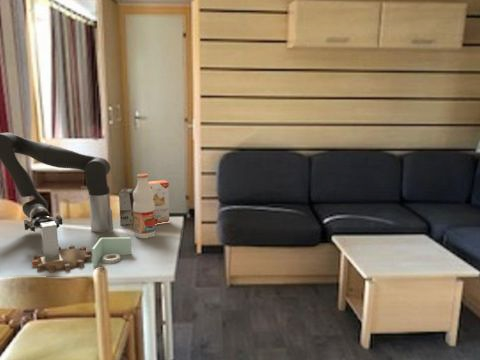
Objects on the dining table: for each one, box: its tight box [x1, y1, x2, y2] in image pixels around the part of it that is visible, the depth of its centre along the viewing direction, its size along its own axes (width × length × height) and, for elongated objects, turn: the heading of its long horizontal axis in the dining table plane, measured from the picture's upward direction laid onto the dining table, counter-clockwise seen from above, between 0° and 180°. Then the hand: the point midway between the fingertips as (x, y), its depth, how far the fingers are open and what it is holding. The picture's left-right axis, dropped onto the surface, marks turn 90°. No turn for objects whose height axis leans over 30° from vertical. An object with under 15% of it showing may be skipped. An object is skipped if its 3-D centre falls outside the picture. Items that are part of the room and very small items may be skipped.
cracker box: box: [148, 179, 170, 224], centre depth 214 cm, size 14×6×21 cm, turn 119°
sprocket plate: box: [31, 244, 93, 273], centre depth 173 cm, size 22×22×2 cm
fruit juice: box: [133, 173, 157, 239], centre depth 198 cm, size 9×9×28 cm
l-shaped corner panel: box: [91, 236, 132, 267], centre depth 173 cm, size 12×12×8 cm
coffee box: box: [118, 187, 136, 226], centre depth 217 cm, size 9×6×16 cm
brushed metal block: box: [40, 221, 60, 262], centre depth 169 cm, size 5×5×14 cm
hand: (45, 227), depth 177 cm, fingers open, 8 cm apart
